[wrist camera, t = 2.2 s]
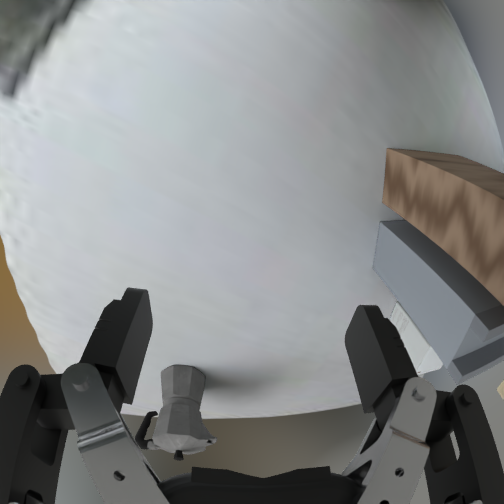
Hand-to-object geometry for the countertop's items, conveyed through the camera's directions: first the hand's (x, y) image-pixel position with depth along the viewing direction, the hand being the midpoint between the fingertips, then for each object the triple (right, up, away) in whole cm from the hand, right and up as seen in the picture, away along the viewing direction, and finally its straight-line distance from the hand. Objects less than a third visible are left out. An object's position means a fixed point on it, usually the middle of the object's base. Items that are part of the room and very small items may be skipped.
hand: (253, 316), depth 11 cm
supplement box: (+30, -10, +40) cm, 51 cm away
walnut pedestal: (+26, +14, +27) cm, 40 cm away
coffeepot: (-15, -22, +42) cm, 50 cm away
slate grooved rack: (+27, +4, +32) cm, 42 cm away
